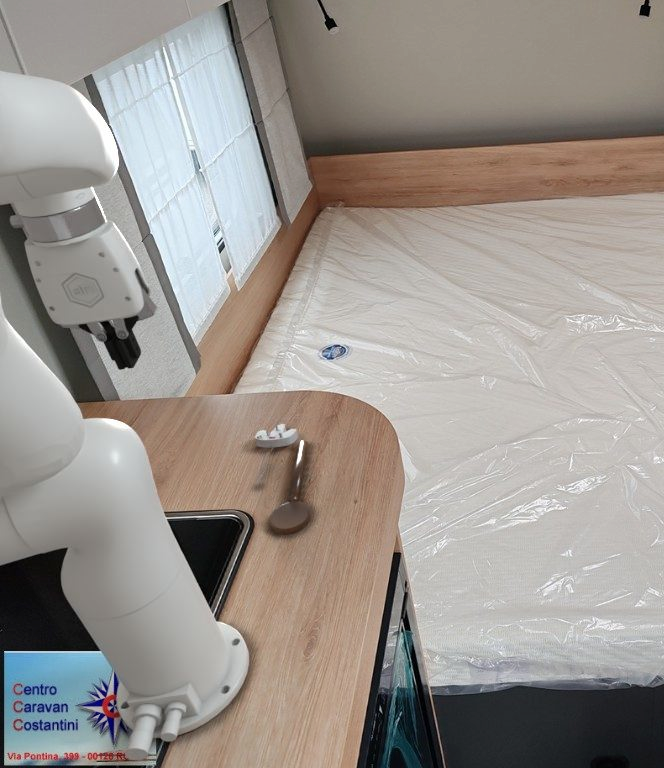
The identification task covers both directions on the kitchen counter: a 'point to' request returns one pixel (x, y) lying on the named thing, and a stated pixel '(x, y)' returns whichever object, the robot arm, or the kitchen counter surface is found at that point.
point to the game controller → (275, 438)
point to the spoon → (293, 499)
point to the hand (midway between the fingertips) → (129, 362)
